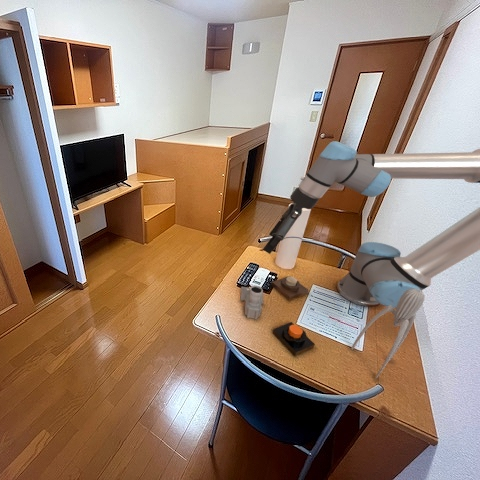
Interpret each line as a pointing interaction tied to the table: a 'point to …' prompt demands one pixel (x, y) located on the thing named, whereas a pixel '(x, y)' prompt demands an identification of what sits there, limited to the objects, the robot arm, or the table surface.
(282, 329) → the dark button base
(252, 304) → the grey pipe fitting
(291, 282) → the cream button
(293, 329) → the orange button
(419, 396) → the table surface
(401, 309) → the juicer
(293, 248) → the container
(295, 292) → the brown button base
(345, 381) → the table surface
